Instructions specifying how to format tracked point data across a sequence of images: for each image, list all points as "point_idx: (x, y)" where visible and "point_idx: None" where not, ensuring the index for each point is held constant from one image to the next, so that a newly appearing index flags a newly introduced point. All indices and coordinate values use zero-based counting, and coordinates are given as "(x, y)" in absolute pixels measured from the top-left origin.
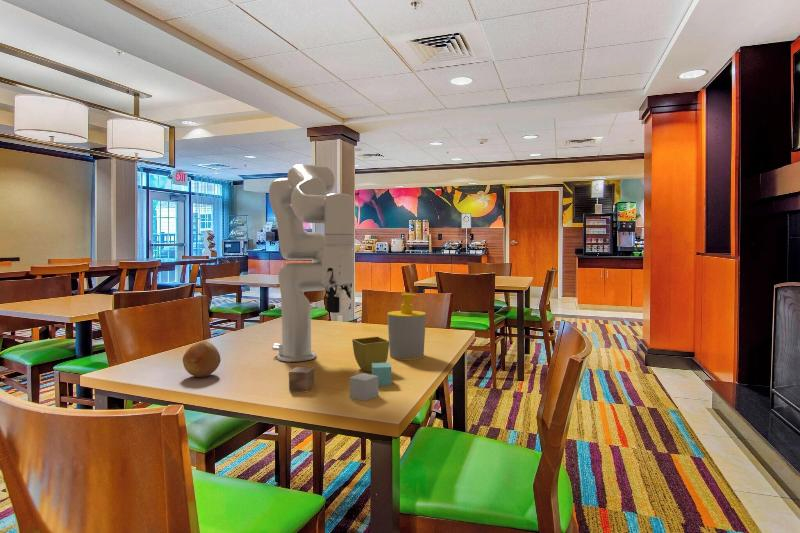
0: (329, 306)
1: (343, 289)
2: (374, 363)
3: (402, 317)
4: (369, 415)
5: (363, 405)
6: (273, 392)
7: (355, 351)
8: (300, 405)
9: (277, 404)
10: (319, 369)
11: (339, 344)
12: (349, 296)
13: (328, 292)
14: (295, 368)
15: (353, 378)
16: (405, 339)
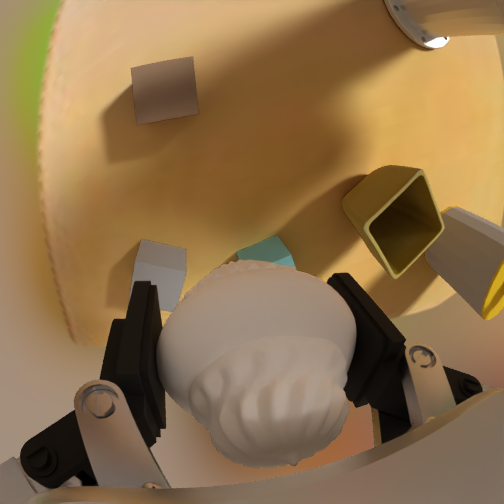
0: (111, 333)
1: (312, 455)
2: (288, 262)
3: (486, 288)
4: (78, 307)
5: (111, 282)
6: (119, 50)
7: (389, 174)
8: (59, 167)
9: (49, 117)
10: (346, 73)
11: (499, 90)
12: (349, 395)
13: (60, 440)
14: (173, 64)
15: (133, 271)
16: (452, 267)
